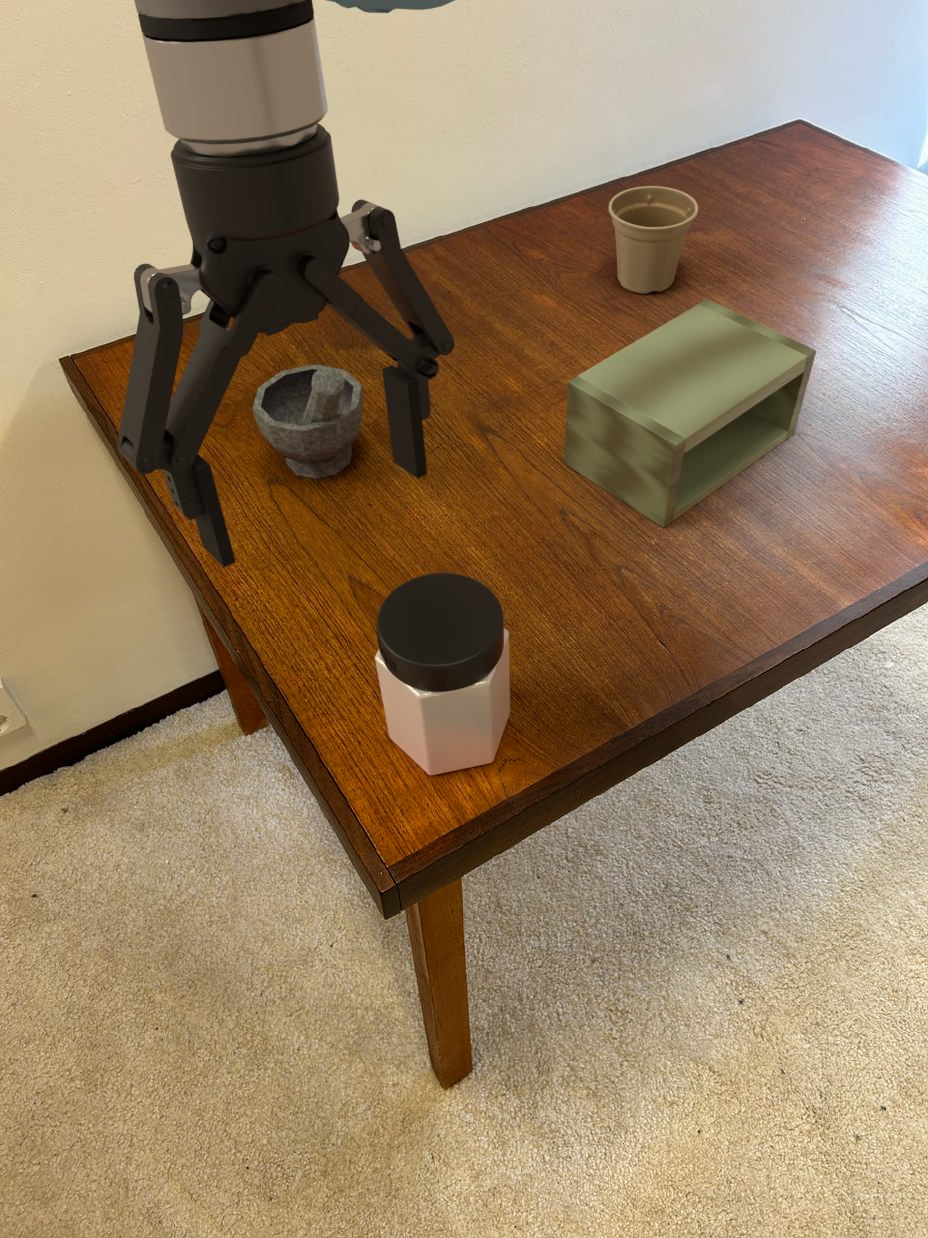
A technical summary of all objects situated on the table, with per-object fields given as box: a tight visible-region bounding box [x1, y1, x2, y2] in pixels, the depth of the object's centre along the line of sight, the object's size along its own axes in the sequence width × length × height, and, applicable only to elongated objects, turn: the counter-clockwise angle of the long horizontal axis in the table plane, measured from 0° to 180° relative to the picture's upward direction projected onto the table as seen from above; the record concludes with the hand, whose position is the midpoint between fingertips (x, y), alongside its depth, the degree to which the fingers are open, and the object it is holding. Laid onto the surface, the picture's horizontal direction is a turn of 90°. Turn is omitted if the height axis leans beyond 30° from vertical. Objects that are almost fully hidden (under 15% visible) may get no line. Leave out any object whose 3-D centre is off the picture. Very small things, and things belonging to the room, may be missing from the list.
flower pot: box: [608, 185, 699, 295], centre depth 106 cm, size 9×9×9 cm
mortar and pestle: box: [252, 364, 364, 480], centre depth 86 cm, size 11×9×12 cm
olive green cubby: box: [563, 298, 817, 529], centre depth 86 cm, size 12×18×9 cm, turn 131°
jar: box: [374, 572, 511, 776], centre depth 66 cm, size 9×8×12 cm
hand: (319, 509), depth 59 cm, fingers open, 13 cm apart
